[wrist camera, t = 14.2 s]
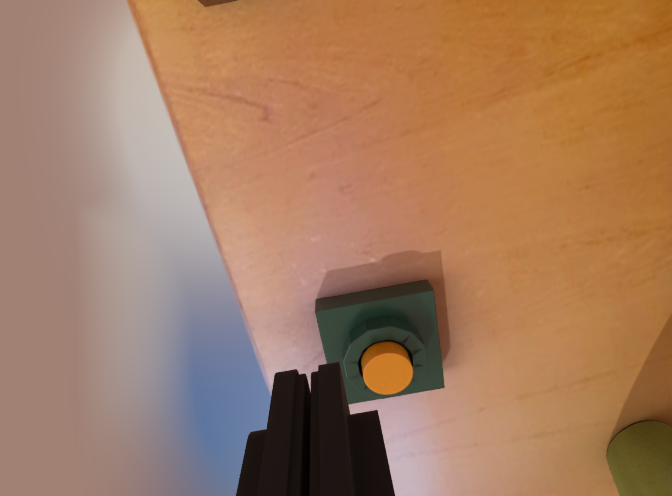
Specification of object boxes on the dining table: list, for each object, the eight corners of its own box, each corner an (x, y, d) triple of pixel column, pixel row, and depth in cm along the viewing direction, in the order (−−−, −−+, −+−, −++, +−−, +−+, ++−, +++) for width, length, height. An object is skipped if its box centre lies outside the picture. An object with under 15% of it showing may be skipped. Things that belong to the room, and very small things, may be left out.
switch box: (336, 390, 38) (337, 421, 34) (315, 299, 35) (314, 322, 31) (438, 372, 38) (450, 401, 34) (427, 279, 34) (439, 300, 31)
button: (365, 384, 34) (367, 398, 32) (357, 345, 32) (359, 357, 31) (411, 376, 33) (416, 390, 32) (405, 336, 32) (410, 349, 30)
